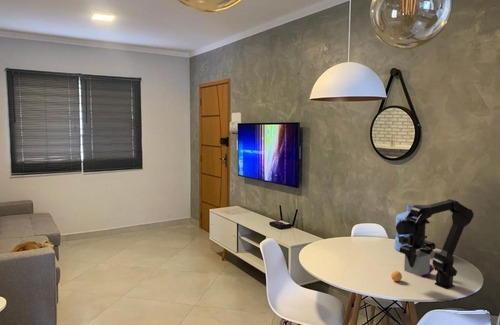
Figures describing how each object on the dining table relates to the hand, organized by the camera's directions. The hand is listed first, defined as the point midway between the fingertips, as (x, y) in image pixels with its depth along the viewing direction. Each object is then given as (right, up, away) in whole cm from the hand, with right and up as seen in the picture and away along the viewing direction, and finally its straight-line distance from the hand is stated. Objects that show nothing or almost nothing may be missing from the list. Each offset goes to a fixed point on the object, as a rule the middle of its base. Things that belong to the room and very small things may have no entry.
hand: (416, 265), depth 176 cm
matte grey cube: (0, -3, 0) cm, 3 cm away
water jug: (+19, -6, +56) cm, 60 cm away
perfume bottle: (+12, -10, +18) cm, 24 cm away
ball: (-6, -8, +10) cm, 14 cm away
